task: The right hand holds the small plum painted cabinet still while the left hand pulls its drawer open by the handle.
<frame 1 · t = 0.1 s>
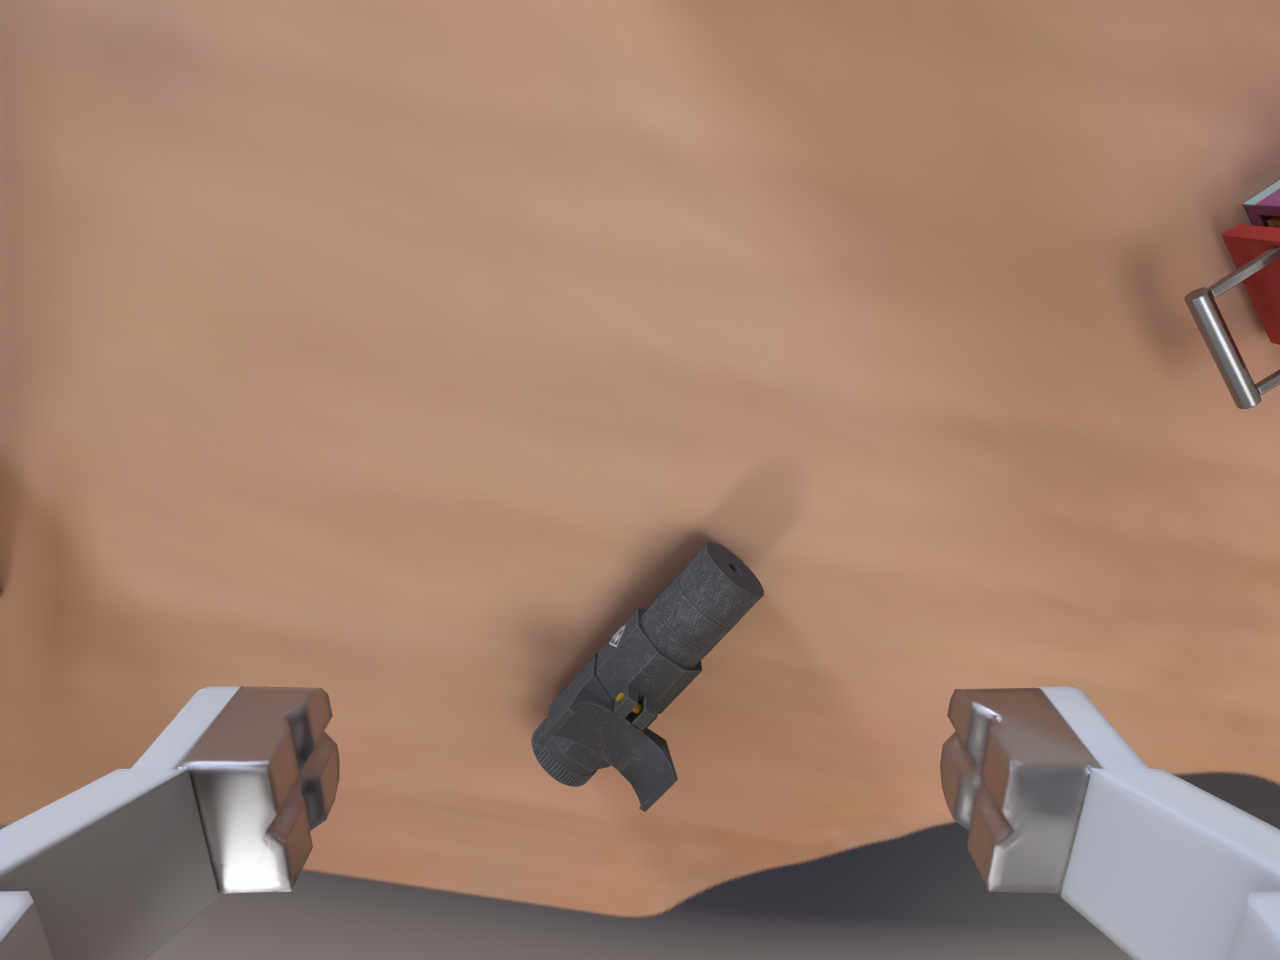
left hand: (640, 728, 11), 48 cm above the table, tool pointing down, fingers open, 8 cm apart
laser sight: (639, 647, 66), on the table
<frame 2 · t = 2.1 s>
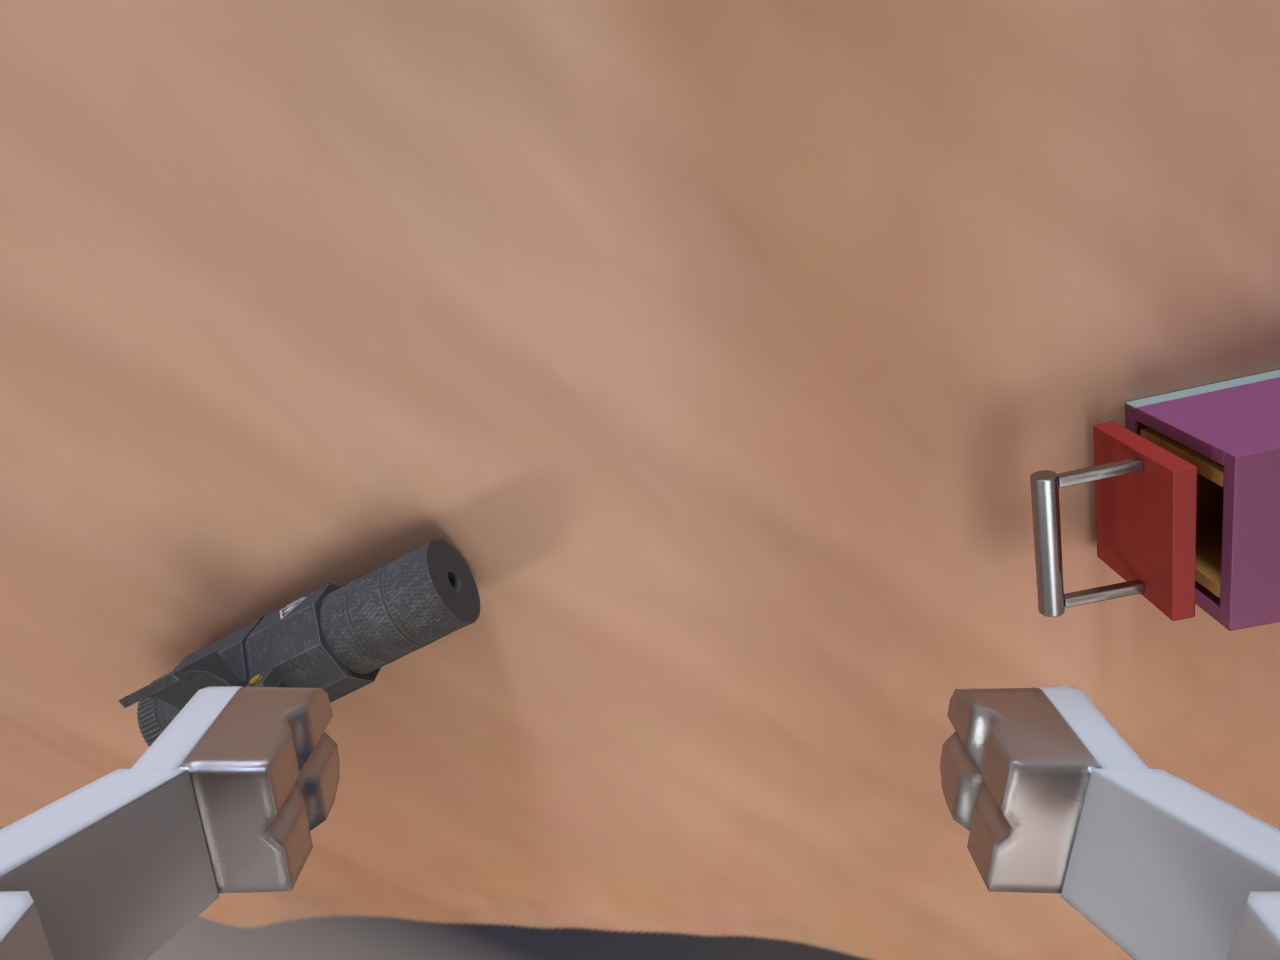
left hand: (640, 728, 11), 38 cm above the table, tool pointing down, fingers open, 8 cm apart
drawer: (1183, 508, 46), point 5 cm above the table, slide at 1.2 cm
cabinet: (1232, 457, 50), on the table
laser sight: (323, 627, 54), on the table
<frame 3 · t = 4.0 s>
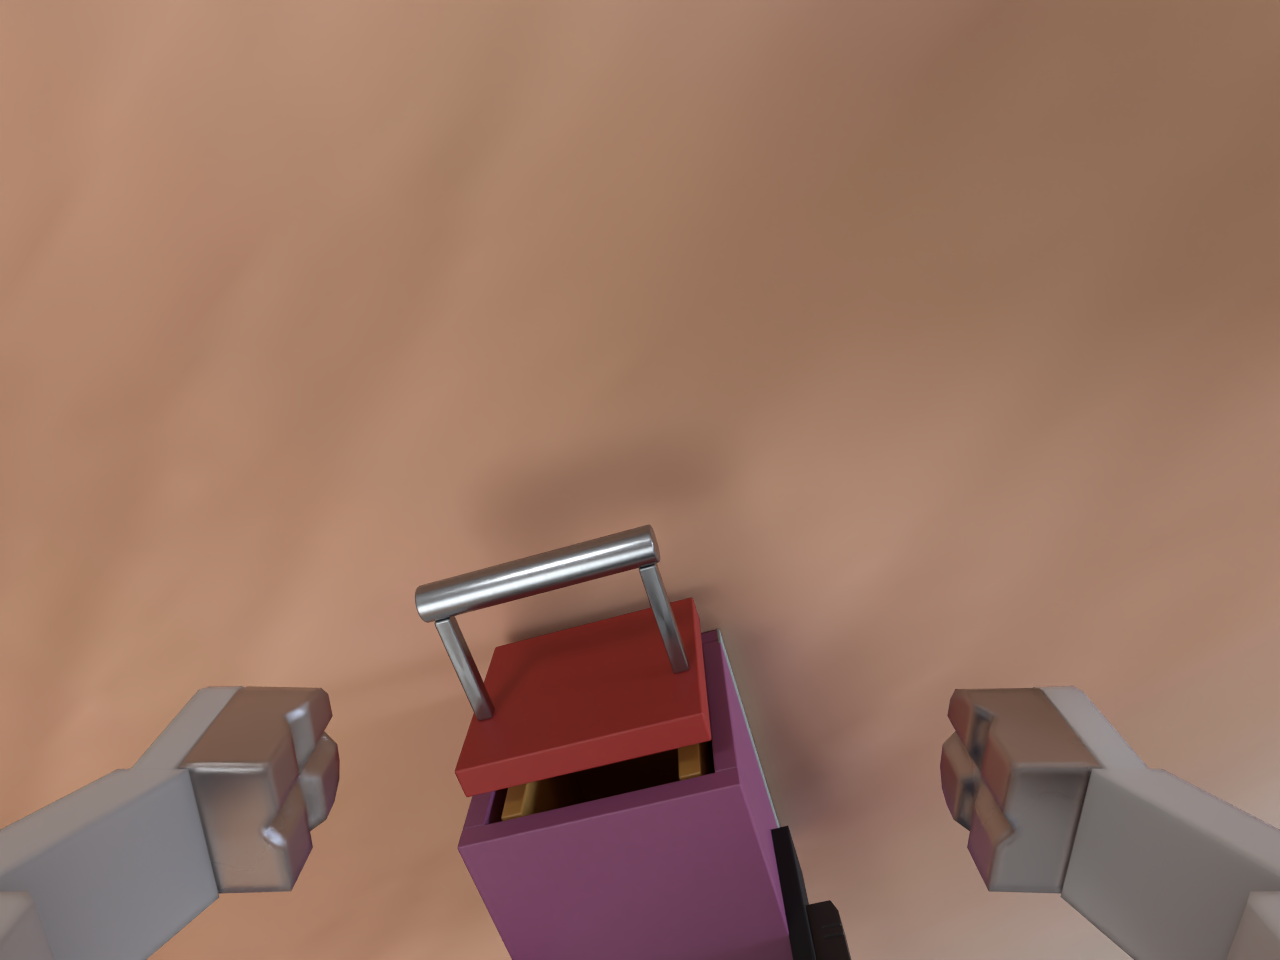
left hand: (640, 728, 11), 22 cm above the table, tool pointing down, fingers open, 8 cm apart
drawer: (607, 734, 32), point 5 cm above the table, slide at 1.2 cm
cabinet: (650, 765, 39), on the table, touching right hand
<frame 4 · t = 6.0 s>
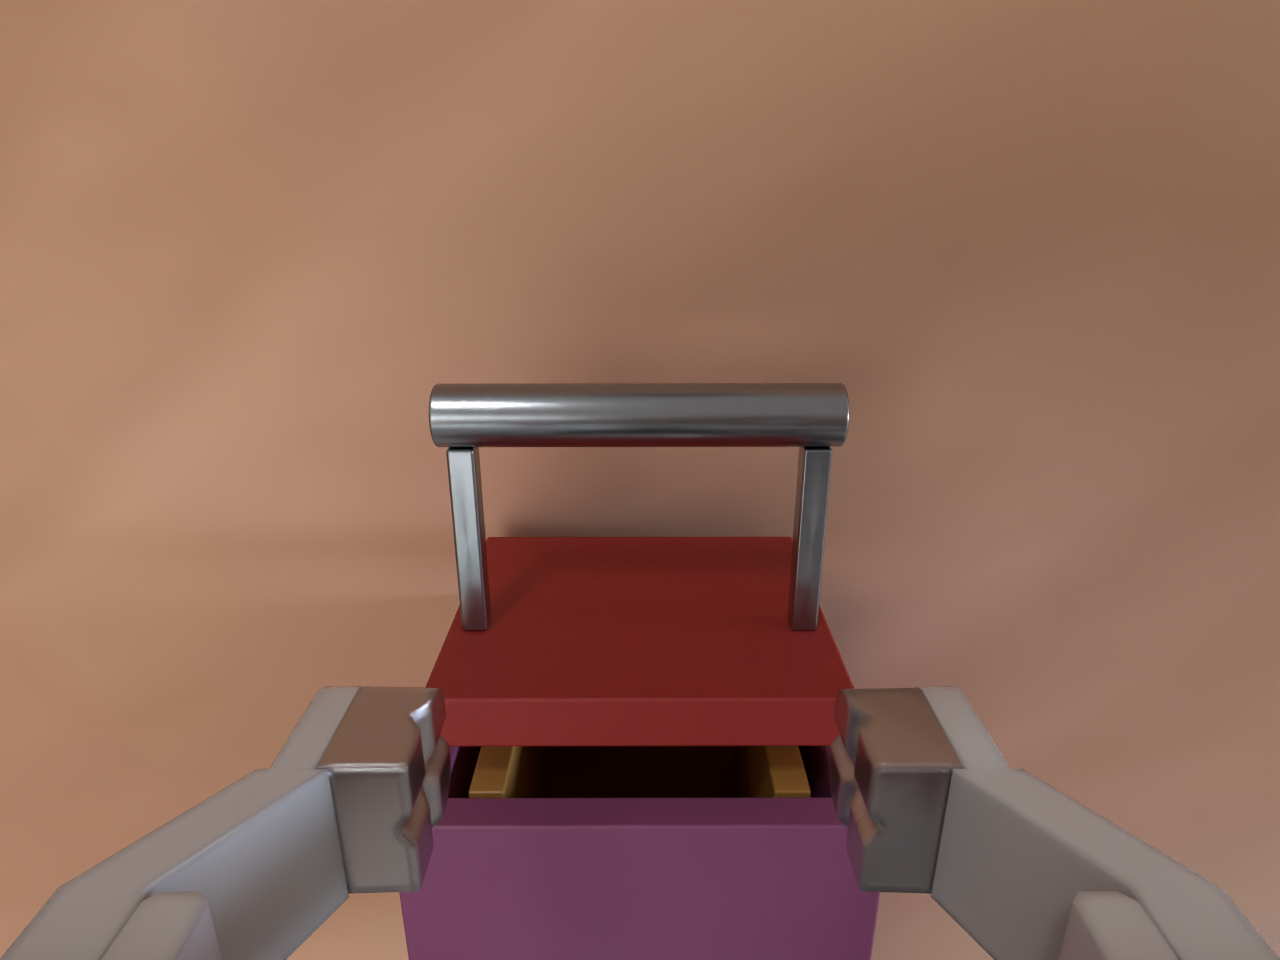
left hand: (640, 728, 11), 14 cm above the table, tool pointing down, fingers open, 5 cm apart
drawer: (639, 700, 21), point 5 cm above the table, slide at 1.2 cm
cabinet: (639, 758, 28), on the table, touching right hand
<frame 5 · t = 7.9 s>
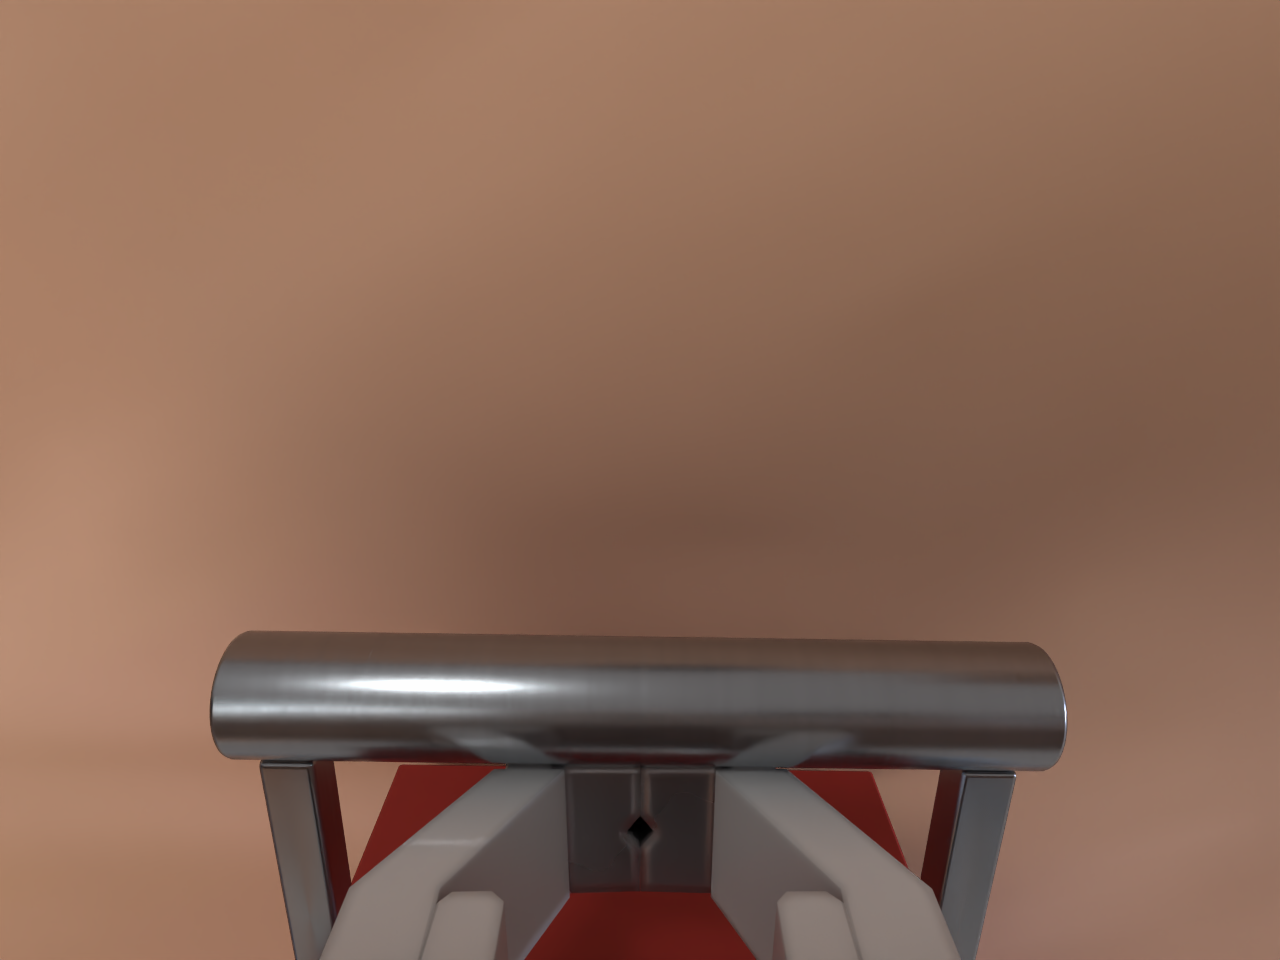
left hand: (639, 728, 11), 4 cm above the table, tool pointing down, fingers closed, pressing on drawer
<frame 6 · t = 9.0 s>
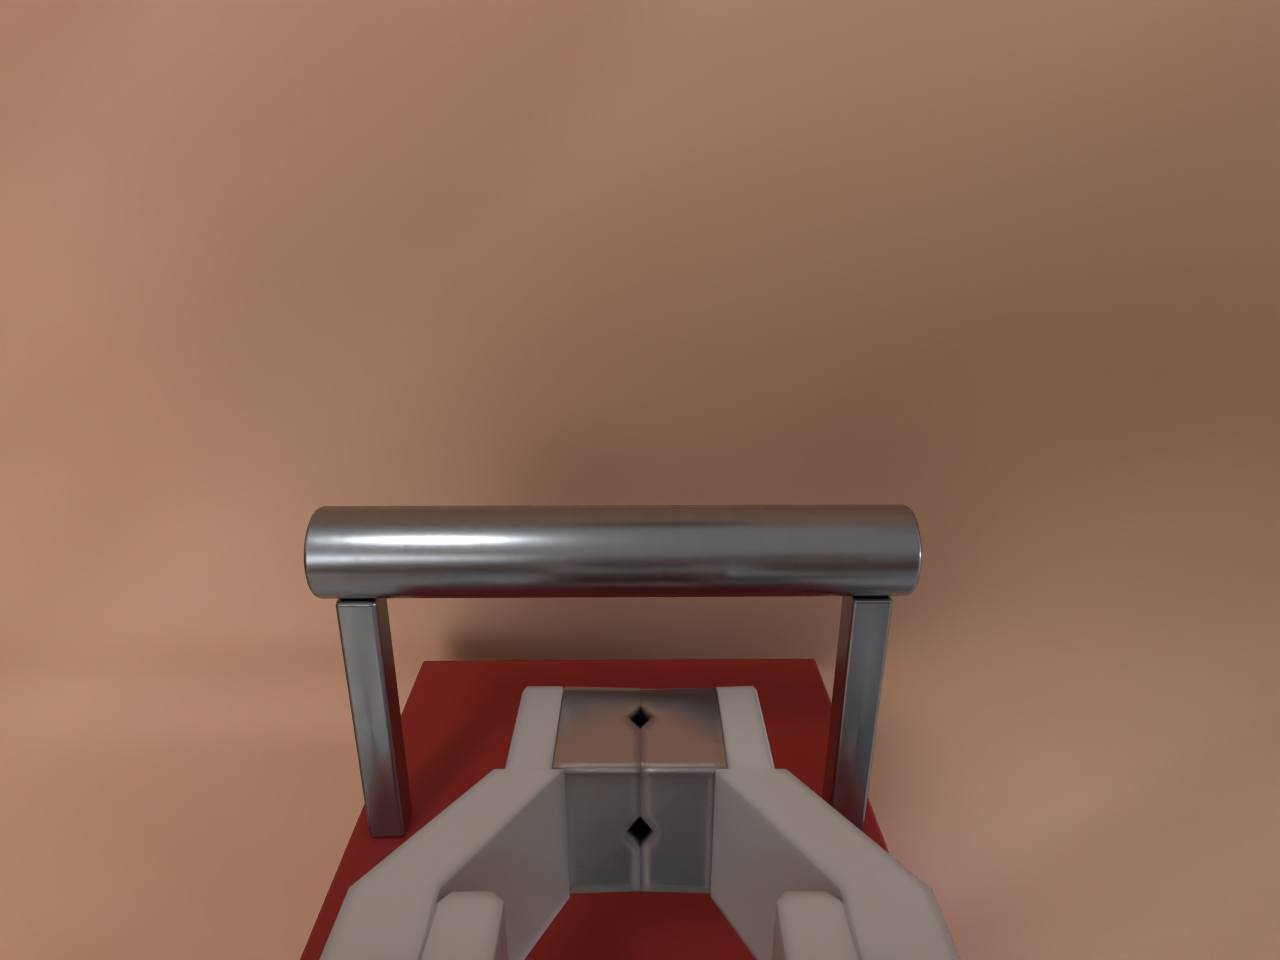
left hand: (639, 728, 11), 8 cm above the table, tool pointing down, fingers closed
drawer: (619, 899, 16), point 5 cm above the table, slide at 5.1 cm
when the right hand's fingers open (5 cm above the table, at t = 10.5 s): cabinet stays where it is, on the table.
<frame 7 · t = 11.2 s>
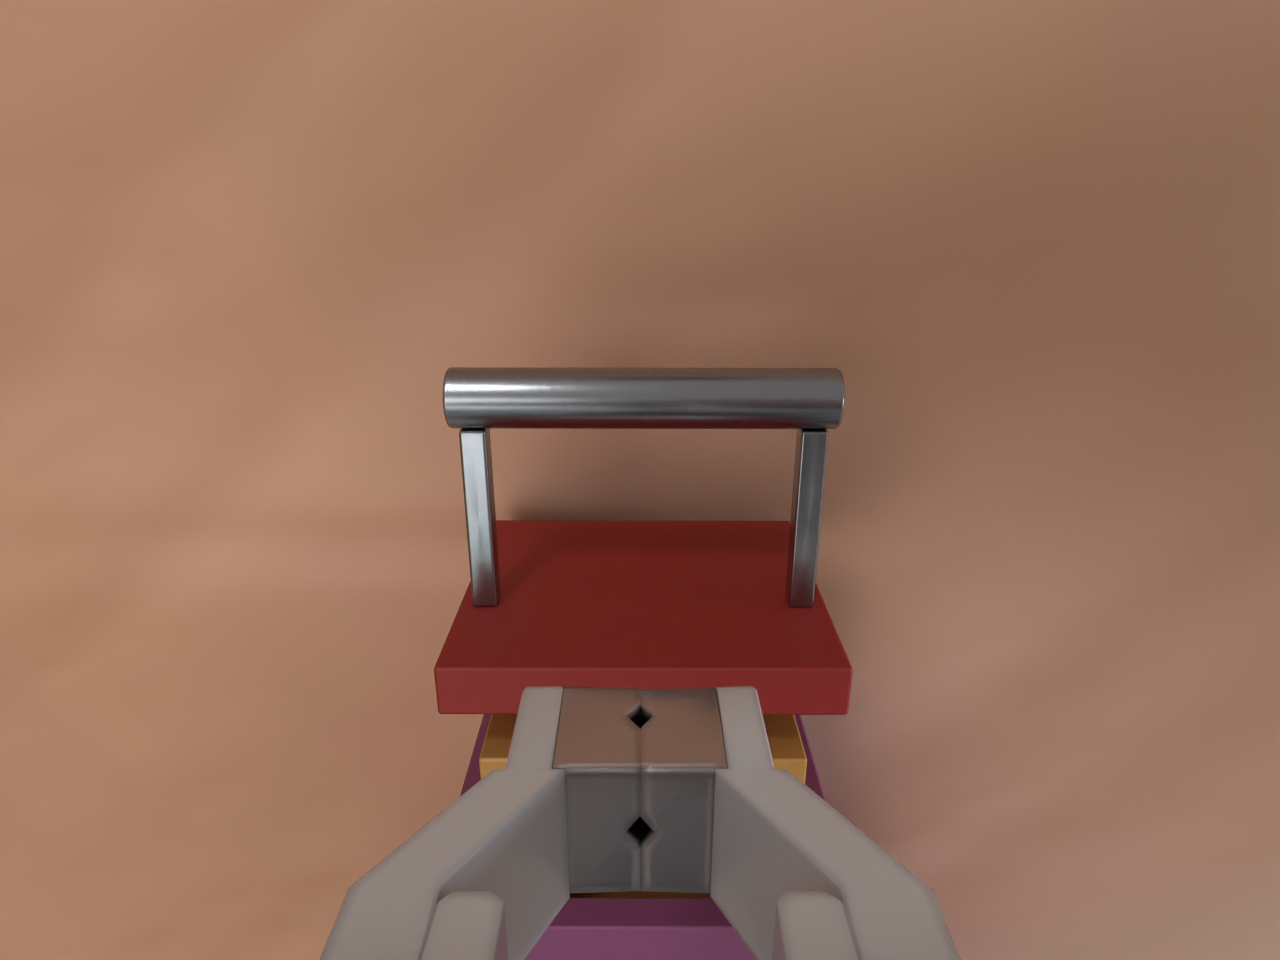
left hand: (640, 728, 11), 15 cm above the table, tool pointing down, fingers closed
drawer: (642, 676, 22), point 5 cm above the table, slide at 5.1 cm
cabinet: (641, 826, 30), on the table
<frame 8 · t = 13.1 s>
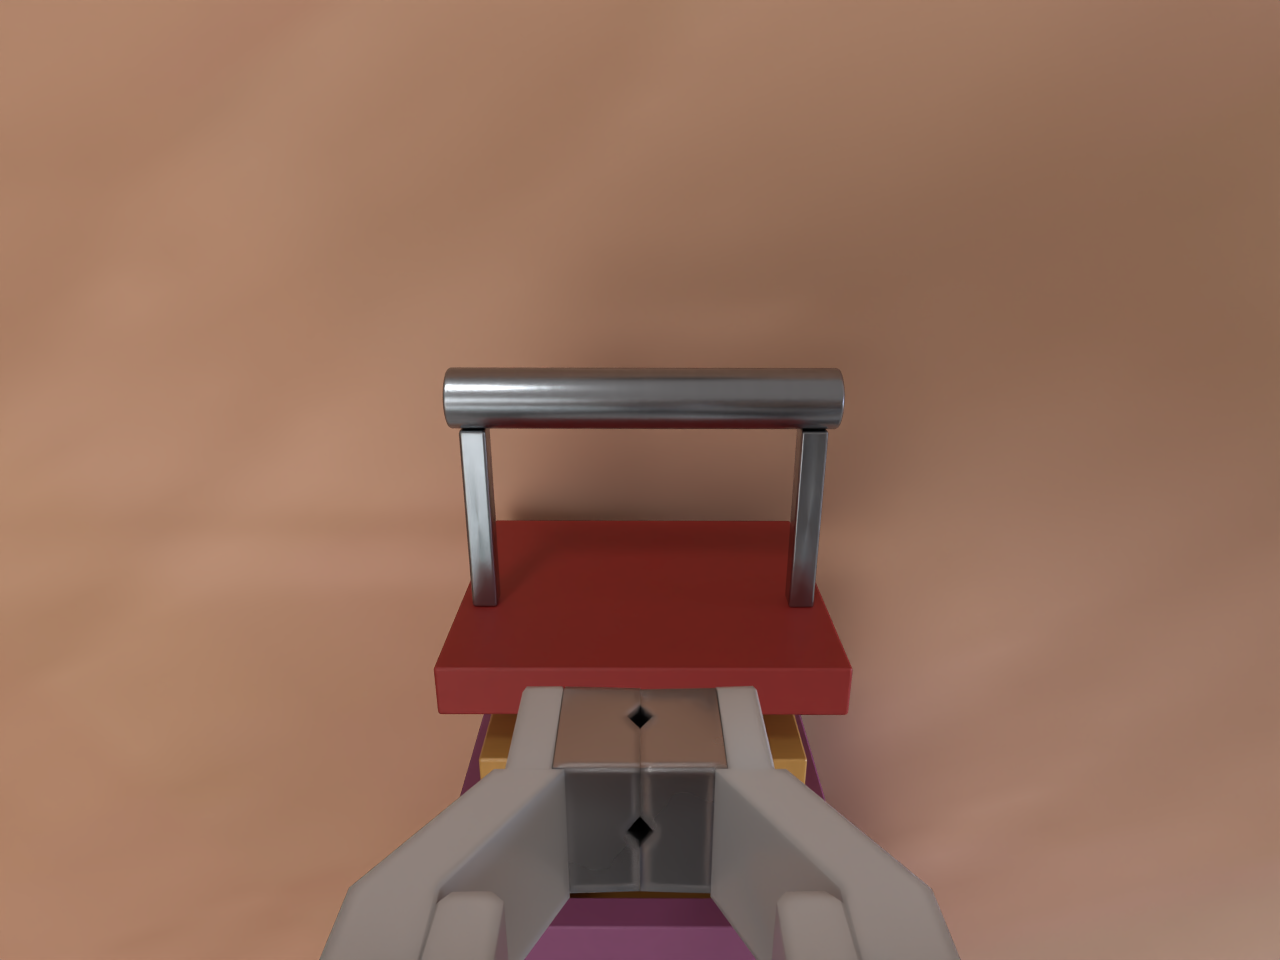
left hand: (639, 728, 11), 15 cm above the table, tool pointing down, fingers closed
drawer: (642, 676, 22), point 5 cm above the table, slide at 5.1 cm
cabinet: (641, 826, 30), on the table
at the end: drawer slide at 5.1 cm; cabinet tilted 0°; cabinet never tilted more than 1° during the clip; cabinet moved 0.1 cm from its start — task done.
